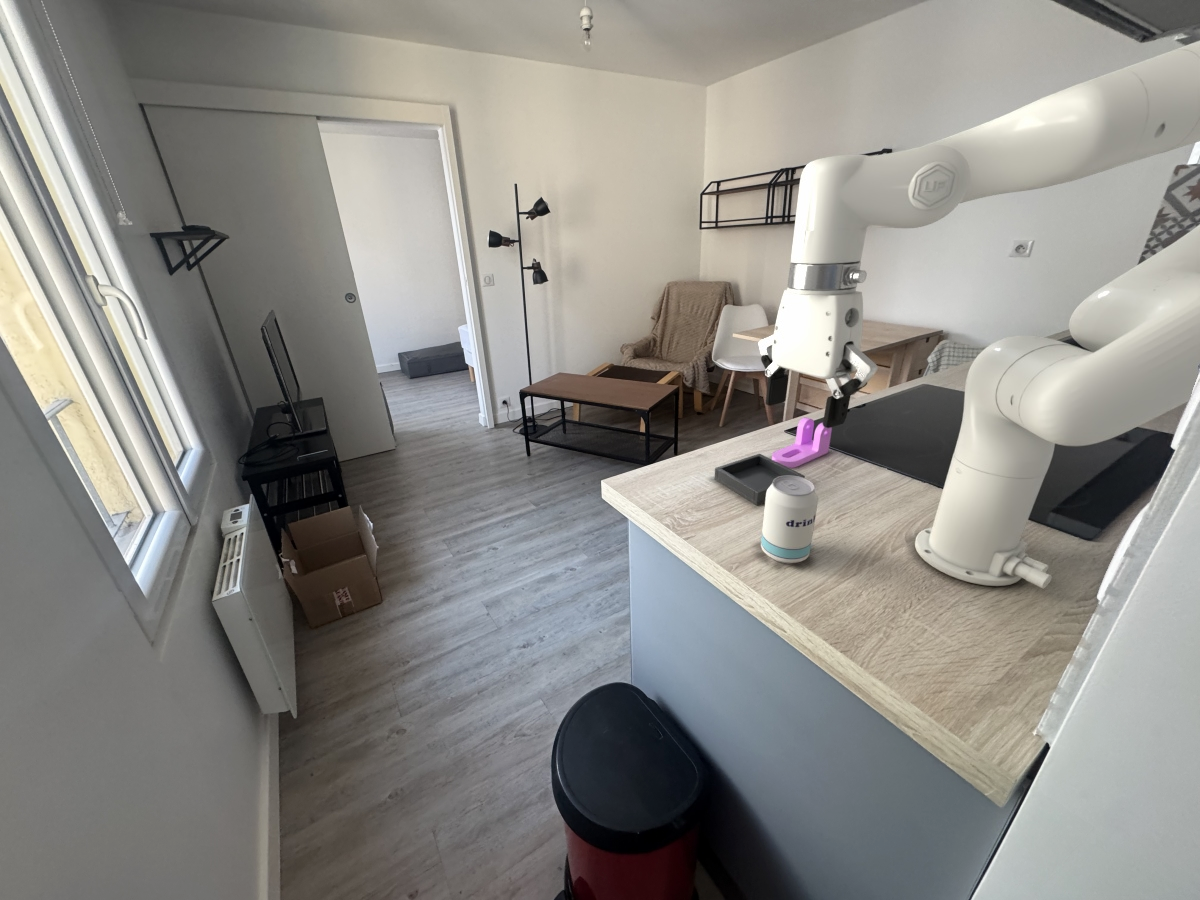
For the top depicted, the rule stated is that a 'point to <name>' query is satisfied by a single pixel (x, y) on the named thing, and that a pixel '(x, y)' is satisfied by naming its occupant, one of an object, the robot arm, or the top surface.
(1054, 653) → the top surface
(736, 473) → the tray
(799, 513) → the beverage can
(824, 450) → the bracket
